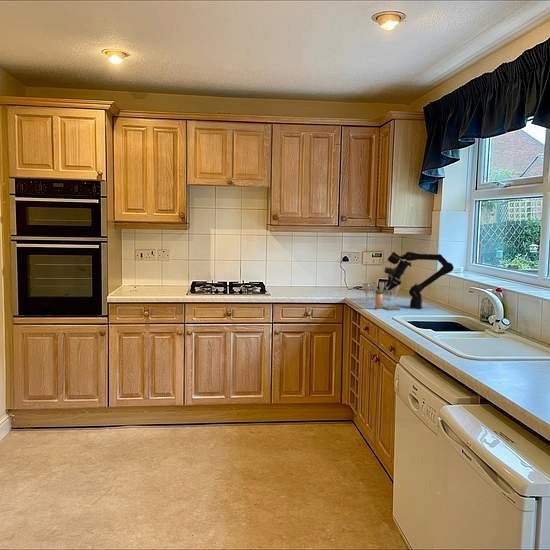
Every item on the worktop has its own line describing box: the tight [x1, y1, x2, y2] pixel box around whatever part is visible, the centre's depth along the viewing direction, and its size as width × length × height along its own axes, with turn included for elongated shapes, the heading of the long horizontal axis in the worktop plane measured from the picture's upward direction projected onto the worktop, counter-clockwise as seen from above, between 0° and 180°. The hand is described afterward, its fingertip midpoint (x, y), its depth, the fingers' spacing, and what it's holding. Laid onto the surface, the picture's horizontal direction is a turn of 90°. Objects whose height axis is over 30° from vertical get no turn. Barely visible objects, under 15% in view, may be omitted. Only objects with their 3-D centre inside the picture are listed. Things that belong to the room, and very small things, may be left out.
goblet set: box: [362, 281, 401, 302], centre depth 365 cm, size 28×6×13 cm, turn 106°
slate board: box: [382, 305, 401, 311], centre depth 334 cm, size 8×12×1 cm, turn 13°
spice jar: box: [374, 289, 384, 310], centre depth 331 cm, size 5×5×12 cm
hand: (387, 288), depth 342 cm, fingers open, 9 cm apart
